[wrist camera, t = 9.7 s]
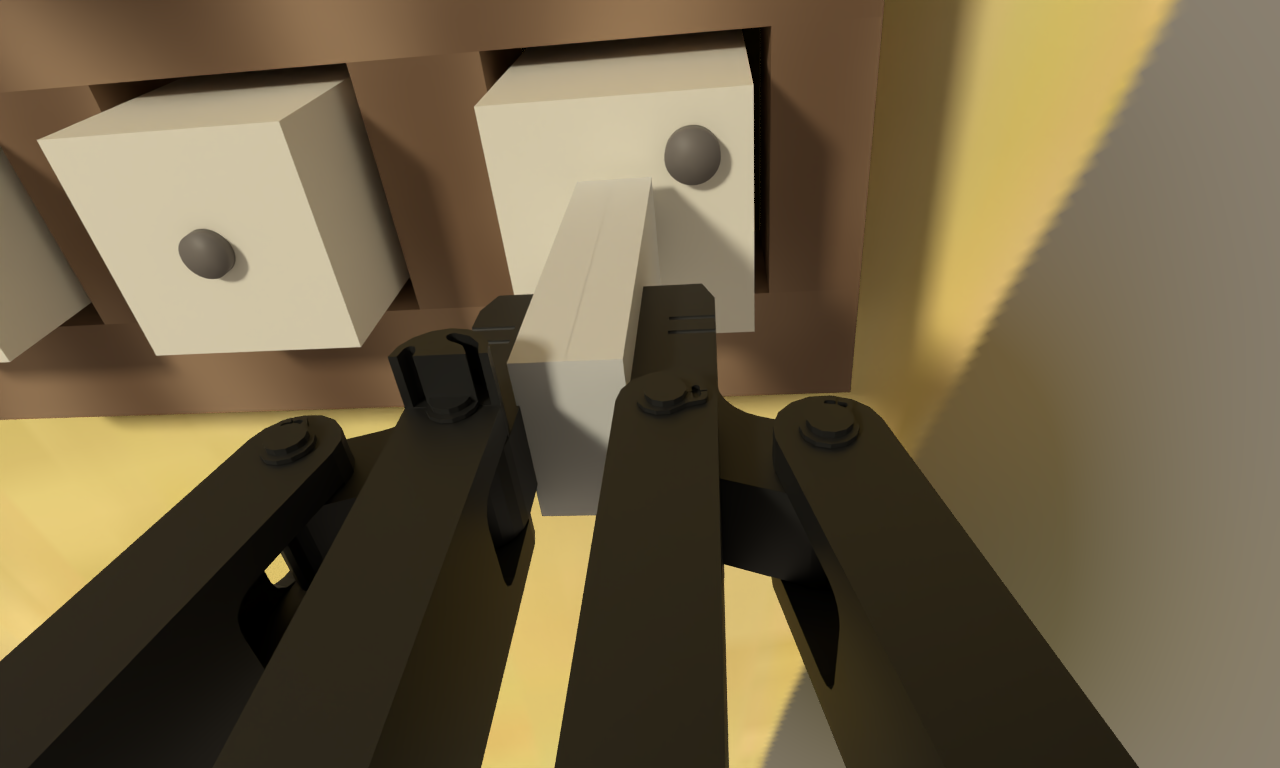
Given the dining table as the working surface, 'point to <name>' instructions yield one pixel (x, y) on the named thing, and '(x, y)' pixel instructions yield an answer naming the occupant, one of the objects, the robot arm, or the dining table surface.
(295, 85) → the cream block
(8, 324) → the key two
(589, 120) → the key three
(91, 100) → the keyboard base
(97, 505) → the dining table surface
